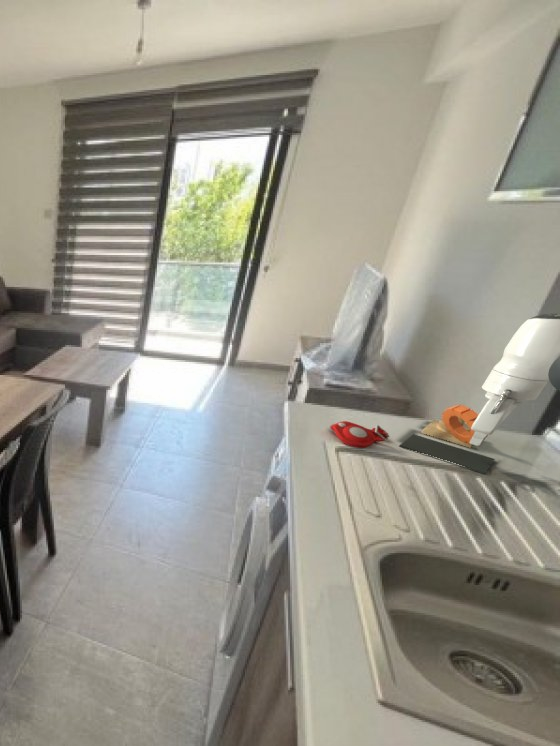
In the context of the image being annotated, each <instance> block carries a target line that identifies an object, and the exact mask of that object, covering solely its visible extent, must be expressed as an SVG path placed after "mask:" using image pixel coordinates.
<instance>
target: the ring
mask: <svg viewBox="0 0 560 746" xmlns="http://www.w3.org/2000/svg"><path fill="white" fill-rule="evenodd" d="M478 415H479V413H477V412H476V411H475V410H473V409H471V407H468V406H465V405H463V404H462V405H461V404H456V405H453V406H451V407H448V408H445V409H444V411H443V412H442V415H441V419H443V422H444V423H445V424H444V425H445V426H446V428H447V430H448V431H451V432H450V433H451V434H452V435H453V436H454V437H455V438H456V439H458V440H459V441H461V442H464V443H467V444H470V440H471V439H472V437H473V435H474V433H475V431H474V430H472V429H471V427H472V425H473V423H474V421H475V420H476V418H477V417H478ZM458 417H459V418H461V419H462V420H464V421H465V423H466V424H467V425H468V426H469V428H470V432H469V431H467V430H466V429H465V428H464V427H462V425H461V424H460V422H459V419H458ZM488 436H489V435H488V434H487V436H486V437H485V438H484V439H483V441H485V440H486V439H487V437H488Z"/></svg>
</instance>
